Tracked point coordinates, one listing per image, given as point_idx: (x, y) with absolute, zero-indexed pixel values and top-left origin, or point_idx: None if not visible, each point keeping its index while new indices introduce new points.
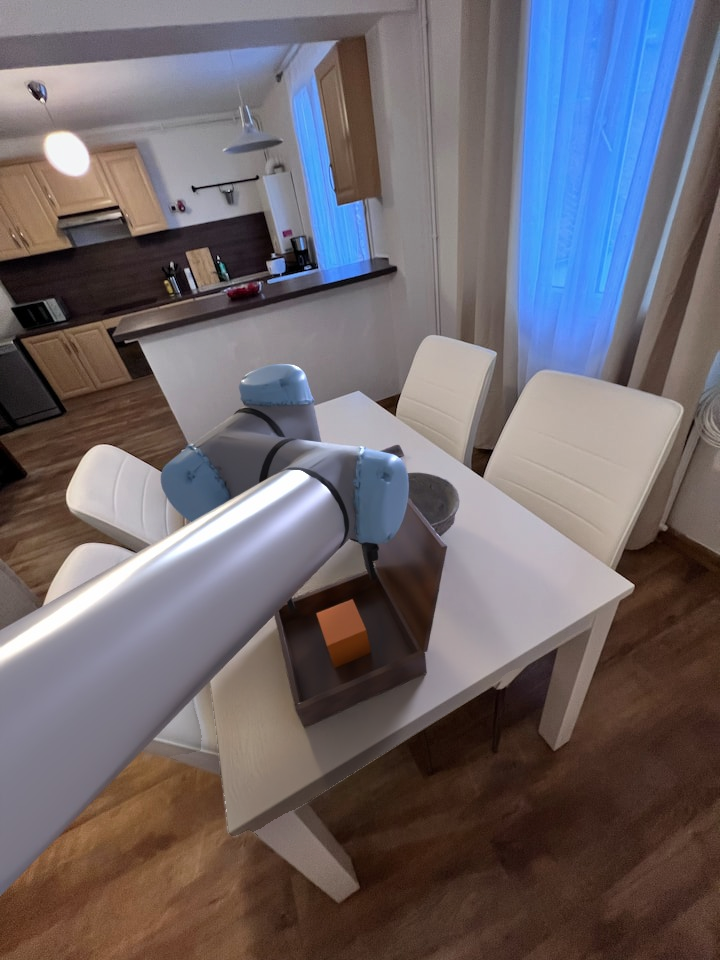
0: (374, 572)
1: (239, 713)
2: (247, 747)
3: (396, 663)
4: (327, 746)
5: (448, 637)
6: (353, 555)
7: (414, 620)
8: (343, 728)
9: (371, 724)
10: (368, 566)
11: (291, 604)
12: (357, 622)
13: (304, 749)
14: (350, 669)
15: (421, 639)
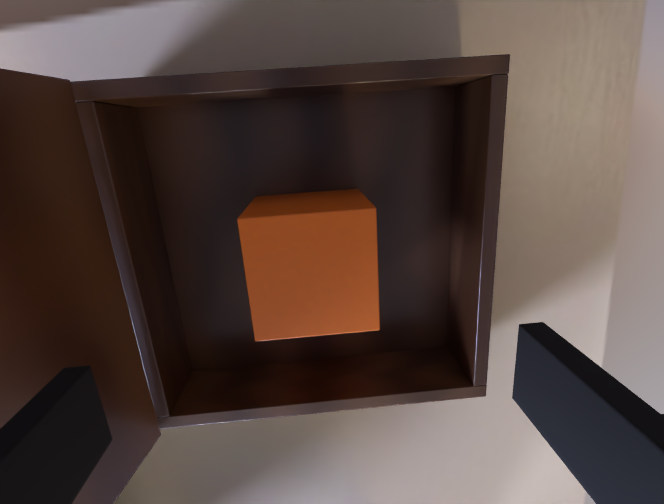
0: (27, 405)
1: (591, 166)
2: (594, 79)
3: (173, 86)
4: (422, 6)
5: None
6: (234, 473)
7: (32, 169)
8: (374, 34)
9: (304, 16)
10: (25, 460)
11: (562, 353)
12: (259, 255)
13: (475, 21)
14: (319, 171)
15: (38, 100)
